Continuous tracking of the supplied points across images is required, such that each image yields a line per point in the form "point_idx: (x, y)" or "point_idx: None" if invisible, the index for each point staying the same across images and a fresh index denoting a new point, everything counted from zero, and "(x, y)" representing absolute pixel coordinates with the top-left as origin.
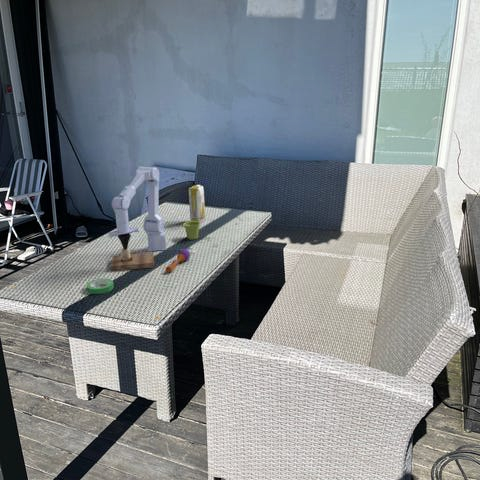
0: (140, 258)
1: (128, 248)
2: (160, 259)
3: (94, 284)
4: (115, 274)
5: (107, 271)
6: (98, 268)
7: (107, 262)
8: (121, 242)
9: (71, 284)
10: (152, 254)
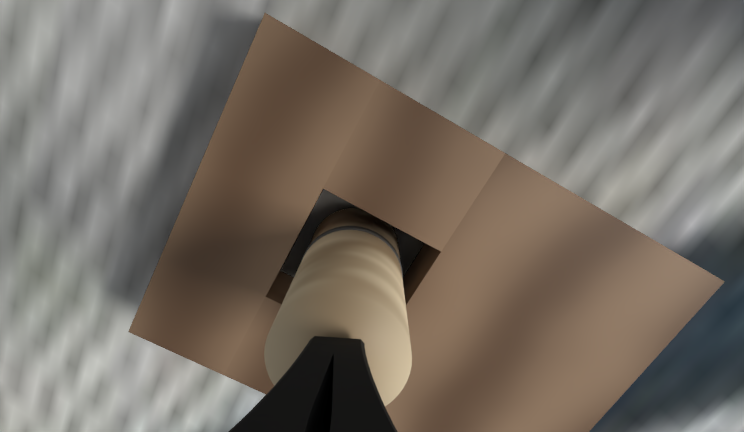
0: (493, 343)
1: (395, 367)
2: (678, 349)
3: None
4: (171, 389)
5: (126, 286)
6: (61, 150)
7: (199, 37)
8: (260, 418)
9: None
10: (671, 325)
